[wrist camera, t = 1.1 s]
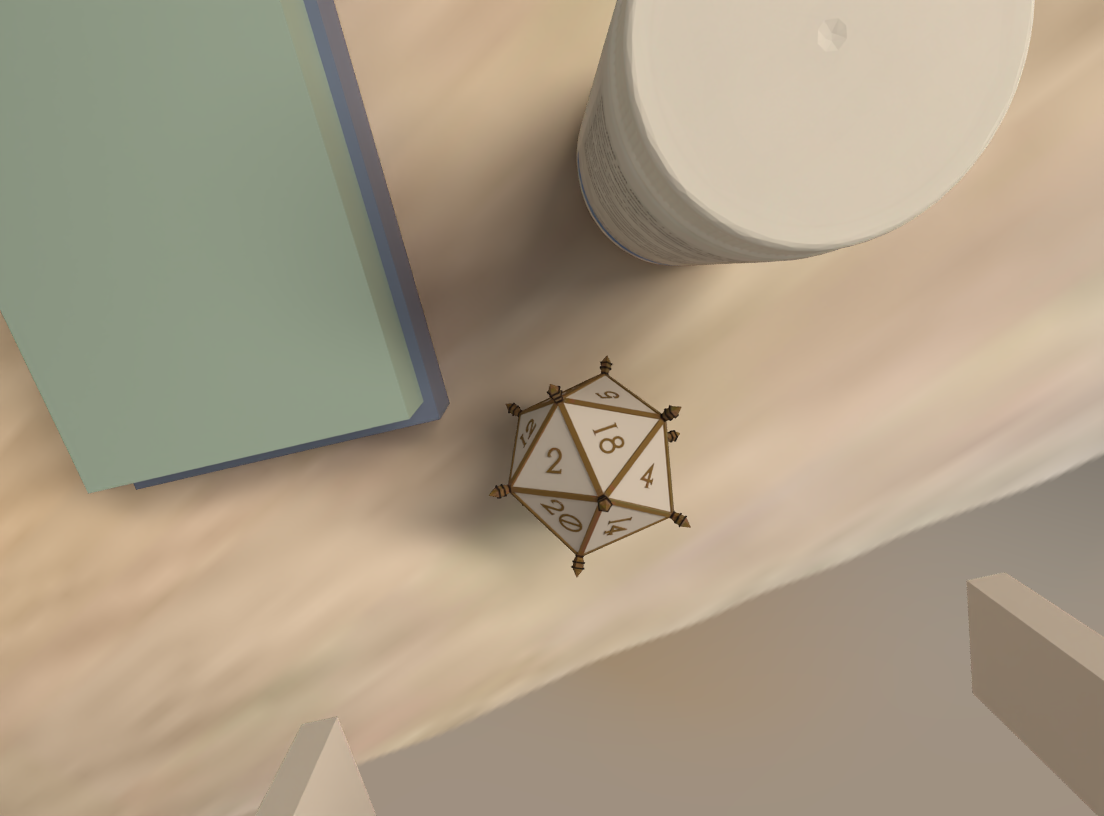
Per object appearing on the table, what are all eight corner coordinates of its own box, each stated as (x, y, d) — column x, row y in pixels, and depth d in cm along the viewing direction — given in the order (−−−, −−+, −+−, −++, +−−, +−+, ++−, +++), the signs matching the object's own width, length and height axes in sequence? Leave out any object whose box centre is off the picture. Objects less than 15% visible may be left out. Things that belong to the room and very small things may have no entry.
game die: (689, 467, 30) (759, 562, 21) (547, 530, 31) (552, 651, 22) (622, 317, 28) (667, 346, 19) (473, 389, 29) (440, 453, 19)
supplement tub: (752, 275, 28) (974, 289, 14) (563, 254, 28) (591, 246, 13) (793, 57, 26) (1115, -198, 11) (587, 30, 25) (653, -271, 11)
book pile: (-36, 2, 24) (-217, -80, 18) (308, -89, 24) (233, -202, 18) (168, 469, 30) (78, 519, 24) (449, 403, 29) (428, 438, 23)
